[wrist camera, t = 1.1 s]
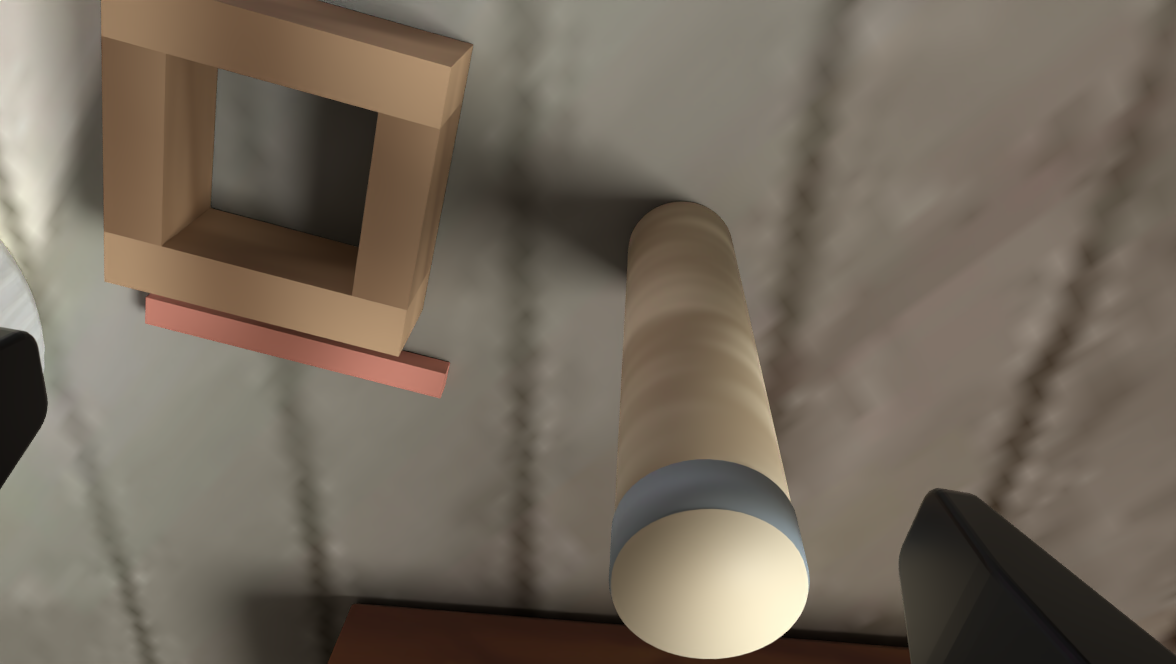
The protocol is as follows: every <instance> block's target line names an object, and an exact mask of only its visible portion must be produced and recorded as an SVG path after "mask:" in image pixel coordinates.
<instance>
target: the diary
mask: <svg viewBox="0 0 1176 664" xmlns="http://www.w3.org/2000/svg"><path fill="white" fill-rule="evenodd" d="M327 664H911V660H910V653H909V648H907V647H895V646H882V645H870V644H857V643H845V642H832V641H820V640H807V639H795V638H783V637H779V638H778V639H777V640H775V641H774V642H772V643H770V644H768V645H766V646H765V647H763V648H760V649H758V650H755V651H753V652H750V653H747V654H743V655H740V656H734V657H729V658H719V659H699V658H689V657H684V656H679V655H675V654H672V653H668V652H666V651H663V650H661V649H658V648H656V647H654V646H652V645H650V644H648V643H646V642H645V641H644V640H642V639H641V638H639V637H638V636H637V635H635V634H634V633H633V632H632V631H631V630H630V629H629V628H628V627H627V626H626V625H620V624H608V623H595V622H583V621H570V620H558V619H545V618H533V617H520V616H508V615H495V614H483V613H470V612H458V611H446V610H433V609H421V608H408V607H396V606H383V605H371V604H358V603H356V604H353V605H352V606H351V608H350V611H349V613H348V615H347V618H346V620H345V623H344V625H343V627H342V630H341V632H340V635H339V637H338V639H337V642H336V644H335V647H334V649H333V651H332V654H331V656H330V659H329V661H328V663H327Z"/></svg>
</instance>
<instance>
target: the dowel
mask: <svg viewBox="0 0 1176 664" xmlns="http://www.w3.org/2000/svg"><path fill="white" fill-rule="evenodd" d="M809 581H810V578H809V569H808V565H807V561H806V556H805V552H804V547H803V543H802V539H801V534H800V530H799V526H798V521H797V517H796V514H795V510H794V508H793V506H792V504H791V500H790V496H789V491H788V487H787V482H786V478H785V473H784V469H783V465H782V460H781V456H780V451H779V447H778V442H777V438H776V434H775V429H774V425H773V420H772V416H771V411H770V407H769V402H768V398H767V394H766V389H765V385H764V380H763V376H762V371H761V367H760V363H759V358H758V354H757V349H756V345H755V340H754V336H753V332H752V327H751V323H750V318H749V314H748V309H747V305H746V300H745V296H744V292H743V287H742V283H741V278H740V274H739V269H738V265H737V261H736V256H735V252H734V247H733V243H732V239H731V235H730V232H729V230H728V228H727V226H726V224H725V223H724V221H723V220H722V219H721V218H720V217H719V216H718V215H717V214H716V213H715V212H713V211H712V210H710V209H709V208H707V207H705V206H703V205H700V204H697V203H692V202H683V201H682V202H671V203H667V204H664V205H661V206H659V207H656V208H654V209H653V210H651V211H650V212H648V213H647V214H646V215H644V216H643V217H642V219H641V220H640V221H639V222H638V223H637V225H636V226H635V228H634V230H633V232H632V234H631V237H630V240H629V247H628V263H627V283H626V302H625V321H624V341H623V360H622V379H621V399H620V418H619V437H618V457H617V476H616V496H615V514H614V518H613V521H612V533H611V551H610V569H609V589H610V594H611V598H612V601H613V603H614V606H615V608H616V611H617V613H618V615H619V616H620V618H621V619H622V621H623V622H624V623H625V625H626V626H627V627H628V628H629V629H630V630H631V631H632V632H633V633H634V634H635V635H637V636H638V637H639V638H641V639H642V640H644V641H645V642H646V643H648V644H650V645H652V646H654V647H656V648H658V649H661V650H663V651H666V652H668V653H672V654H675V655H679V656H684V657H689V658H699V659H719V658H729V657H734V656H740V655H743V654H747V653H750V652H753V651H755V650H758V649H760V648H763V647H765V646H766V645H768V644H770V643H772V642H774V641H775V640H777V639H778V638H779V637H781V636H782V635H783V634H784V633H786V632H787V631H788V630H789V629H790V628H791V627H792V626H793V624H794V623H795V622H796V621H797V619H798V618H799V616H800V615H801V613H802V611H803V609H804V606H805V604H806V600H807V596H808V591H809Z"/></svg>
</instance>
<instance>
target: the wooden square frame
mask: <svg viewBox="0 0 1176 664" xmlns="http://www.w3.org/2000/svg"><path fill="white" fill-rule="evenodd" d="M101 49H102V125H103V200H104V276H105V282H109V283H113V284H117V285H121V286H124V287H128V288H132V289H136V290H140V291H144V292H148V293H150V294H149V295H148V296H147V297H146V314H145V323H146V324H150V325H154V326H158V327H162V328H166V329H170V330H174V331H178V332H181V333H185V334H189V335H193V336H197V337H201V338H205V339H209V340H213V341H217V342H221V343H225V344H229V345H233V346H237V347H241V348H244V349H248V350H252V351H256V352H260V353H264V354H268V355H272V356H276V357H280V358H284V359H288V360H292V361H296V362H300V363H304V364H307V365H311V366H315V367H319V368H323V369H327V370H331V371H335V372H339V373H343V374H347V375H351V376H355V377H359V378H363V379H367V380H370V381H374V382H378V383H382V384H386V385H390V386H394V387H398V388H402V389H406V390H410V391H414V392H418V393H422V394H426V395H430V396H433V397H437V398H441V395H442V392H443V390H444V387H445V384H446V379H447V374H448V370H449V365H450V363H449V362H445V361H442V360H438V359H434V358H430V357H426V356H422V355H418V354H414V353H410V352H406V351H403V350H402V349H403V347H404V345H405V343H406V341H407V339H408V337H409V335H410V333H411V331H412V329H413V327H414V325H415V323H416V322H417V320H418V318H419V316H420V314H421V312H422V310H423V305H424V300H425V295H426V289H427V284H428V279H429V274H430V268H431V263H432V258H433V253H434V248H435V242H436V237H437V232H438V227H439V222H440V216H441V211H442V206H443V201H444V196H445V190H446V185H447V180H448V175H449V169H450V164H451V159H452V154H453V149H454V143H455V138H456V133H457V128H458V123H459V117H460V112H461V107H462V102H463V96H464V91H465V86H466V81H467V76H468V70H469V65H470V60H471V55H472V50H473V44H469V43H466V42H462V41H459V40H455V39H452V38H448V37H445V36H441V35H438V34H434V33H431V32H427V31H424V30H420V29H416V28H413V27H409V26H406V25H402V24H399V23H395V22H392V21H388V20H385V19H381V18H378V17H374V16H371V15H367V14H364V13H360V12H357V11H353V10H350V9H346V8H343V7H339V6H335V5H332V4H328V3H325V2H321V1H318V0H101ZM218 68H220V69H224V70H227V71H231V72H235V73H238V74H242V75H245V76H249V77H253V78H256V79H260V80H264V81H267V82H271V83H274V84H278V85H282V86H285V87H289V88H293V89H296V90H300V91H303V92H307V93H311V94H314V95H318V96H321V97H325V98H329V99H332V100H336V101H340V102H343V103H347V104H350V105H354V106H358V107H361V108H365V109H369V110H372V111H376V112H378V118H377V125H376V132H375V139H374V146H373V153H372V160H371V167H370V174H369V181H368V187H367V194H366V201H365V208H364V215H363V222H362V229H361V236H360V243H359V247H356V246H352V245H348V244H345V243H341V242H337V241H333V240H329V239H326V238H322V237H318V236H314V235H311V234H307V233H303V232H299V231H295V230H292V229H288V228H284V227H280V226H277V225H273V224H269V223H265V222H261V221H258V220H254V219H250V218H246V217H243V216H239V215H235V214H231V213H227V212H224V211H220V210H216V209H212V208H211V190H212V170H213V151H214V131H215V112H216V93H217V73H218Z"/></svg>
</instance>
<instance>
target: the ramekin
mask: <svg viewBox="0 0 1176 664" xmlns="http://www.w3.org/2000/svg"><path fill="white" fill-rule="evenodd" d="M0 327H5V328H10V329H16V330H22V331H26V332H28V333H29V334H31V335H32V336H33V337H34V339H35V340H36V342H37V344H38V348H39V354H40V359H41V365H42V371H43V372H44V368H45V364H44V353H45V344H44V339H43V333H42V326H41V323H40V318H39V313H38V310H37V307H36V303H35V300H34V297H33V295H32V292H31V290H30V288H29V285H28V283H27V281H26V279H25V277H24V275H23V273H22V271H21V270H20V268H19V266H18V264H17V263H16V261H15V259H14V258H13V256H12V255H11V253H10V252H9V250H8V249H7V247H6V246H5V245H4V243H3V242H2V241H1V240H0Z"/></svg>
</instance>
